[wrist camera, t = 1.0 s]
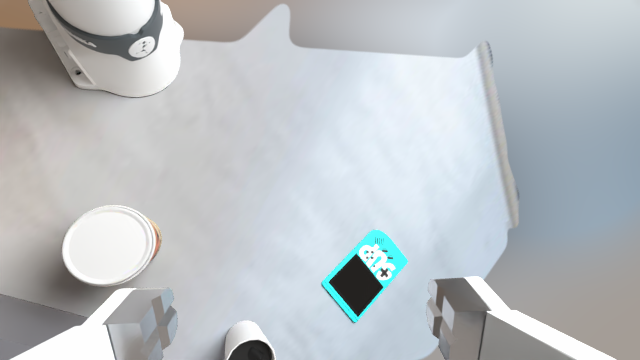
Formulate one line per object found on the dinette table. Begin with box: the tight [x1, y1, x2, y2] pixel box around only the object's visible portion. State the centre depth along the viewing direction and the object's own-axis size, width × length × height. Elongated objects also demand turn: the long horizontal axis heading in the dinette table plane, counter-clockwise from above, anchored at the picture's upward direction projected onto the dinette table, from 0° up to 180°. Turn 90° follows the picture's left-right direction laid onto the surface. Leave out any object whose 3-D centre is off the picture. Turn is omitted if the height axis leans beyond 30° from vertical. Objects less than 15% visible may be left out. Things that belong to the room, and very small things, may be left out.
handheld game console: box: [322, 230, 408, 322], centre depth 58 cm, size 10×16×1 cm, turn 132°
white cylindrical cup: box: [225, 321, 276, 360], centre depth 44 cm, size 7×7×10 cm
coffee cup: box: [61, 205, 162, 287], centre depth 40 cm, size 9×9×12 cm
